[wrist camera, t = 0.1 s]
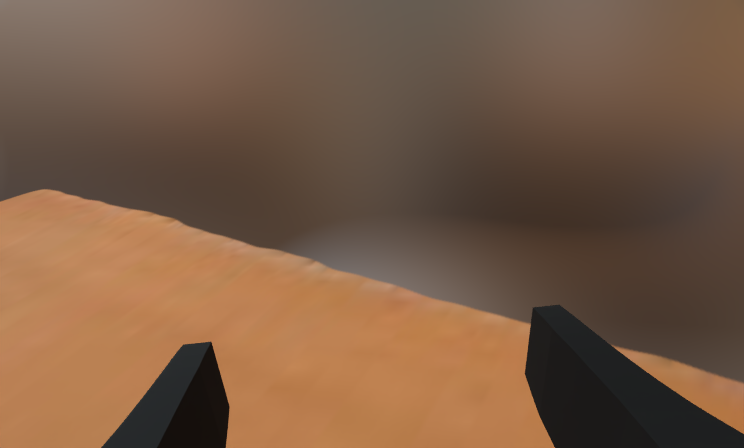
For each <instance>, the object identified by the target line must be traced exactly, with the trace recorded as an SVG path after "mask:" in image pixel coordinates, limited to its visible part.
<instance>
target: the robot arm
mask: <svg viewBox="0 0 744 448" xmlns="http://www.w3.org/2000/svg"><path fill="white" fill-rule="evenodd" d="M525 375H526V378H527V381H528V384H529V387H530V390H531V393H532V396H533V399H534V402H535V405H536V407H537V410H538V413H539V416H540V418H541V420H542V422H543V424H544V426H545V428H546V430H547V432H548V434H549V436H550V438H551V440H552V442H553V445H554V447H555V448H744V434H743V433H741V432H739V431H737V430H736V429H734V428H732V427H731V426H729V425H727V424H726V423H724V422H722V421H721V420H719V419H717V418H716V417H714V416H712V415H710V414H709V413H707V412H705V411H704V410H702V409H701V408H699V407H697V406H696V405H694V404H693V403H691V402H690V401H688V400H687V399H685V398H684V397H682V396H681V395H679V394H678V393H676V392H675V391H673V390H672V389H670V388H669V387H667V386H666V385H664V384H663V383H661V382H660V381H658V380H657V379H656V378H654V377H653V376H651V375H650V374H649V373H647V372H646V371H644V370H643V369H642V368H640V367H639V366H638V365H636V364H635V363H633V362H632V361H631V360H629V359H628V358H627V357H625V356H624V355H623V354H621V353H620V352H619V351H618V350H616V349H615V348H614V347H612V346H611V345H610V344H608V343H607V342H606V341H605V340H603V339H602V338H601V337H600V336H598V335H597V334H596V333H595V332H593V331H592V330H591V329H589V328H588V327H587V326H586V325H584V324H583V323H582V322H581V321H579V320H578V319H577V318H576V317H574V316H573V315H572V314H570V313H569V312H568V311H567V310H565V309H564V308H563V307H561V306H560V305H553V306H544V307H534V308H533V312H532V319H531V328H530V336H529V344H528V353H527V361H526V369H525ZM228 418H229V403H228V400H227V396H226V393H225V389H224V386H223V382H222V378H221V375H220V371H219V368H218V364H217V360H216V357H215V353H214V350H213V346H212V343H211V342H205V343H195V344H186V345H183V346H182V347H181V348H180V349H179V350H178V352H177V353H176V354H175V356H174V357H173V358H172V359H171V361H170V362H169V363H168V365H167V366H166V367H165V369H164V370H163V371H162V373H161V374H160V375H159V377H158V378H157V379H156V381H155V382H154V383H153V385H152V386H151V387H150V389H149V390H148V391H147V393H146V394H145V395H144V396H143V398H142V399H141V400H140V401H139V403H138V404H137V405H136V406H135V408H134V409H133V410H132V412H131V413H130V414H129V415H128V417H127V418H126V419H125V420H124V422H123V423H122V424H121V425H120V426H119V428H118V429H117V430H116V431H115V432H114V434H113V435H112V436H111V437H110V438H109V439H108V441H107V442H106V443H105V444H104V445H103V446H102V447H101V448H226V439H227V430H228Z"/></svg>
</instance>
